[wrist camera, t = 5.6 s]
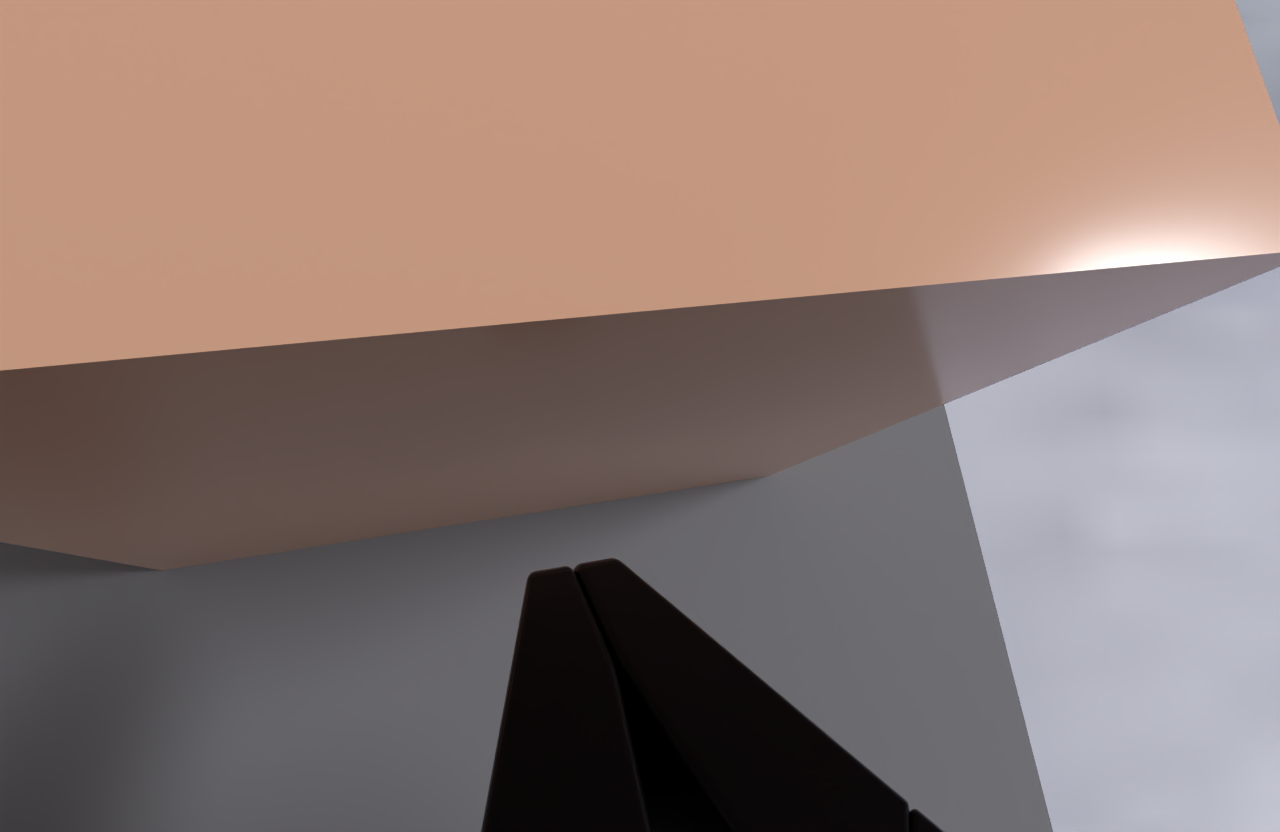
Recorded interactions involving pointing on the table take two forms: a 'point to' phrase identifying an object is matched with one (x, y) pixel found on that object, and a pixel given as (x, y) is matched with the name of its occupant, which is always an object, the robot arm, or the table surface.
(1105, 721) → the table surface
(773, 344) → the tile
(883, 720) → the mat
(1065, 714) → the table surface
